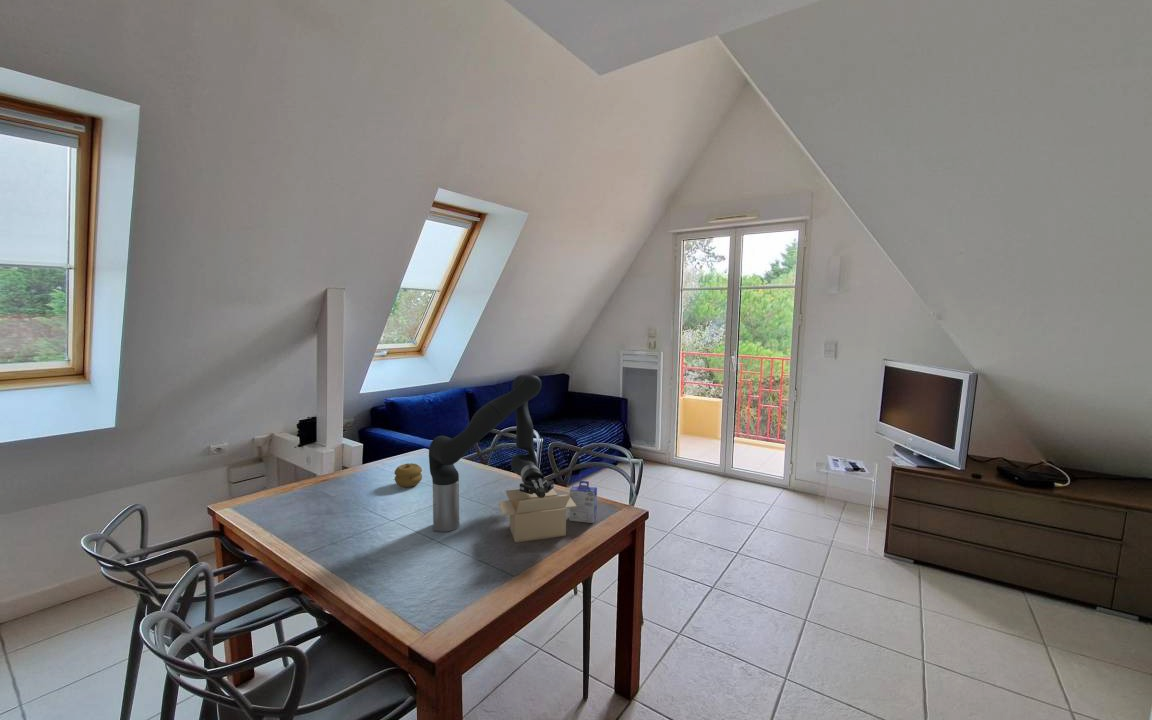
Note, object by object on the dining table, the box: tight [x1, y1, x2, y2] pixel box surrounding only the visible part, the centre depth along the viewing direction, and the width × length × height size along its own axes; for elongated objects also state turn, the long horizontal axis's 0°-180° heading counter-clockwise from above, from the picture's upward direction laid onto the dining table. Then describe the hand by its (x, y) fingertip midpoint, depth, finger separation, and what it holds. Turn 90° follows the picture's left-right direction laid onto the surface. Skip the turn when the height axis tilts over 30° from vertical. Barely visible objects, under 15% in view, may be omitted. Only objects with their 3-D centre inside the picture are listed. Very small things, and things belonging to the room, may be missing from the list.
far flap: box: [516, 494, 570, 513], centre depth 159 cm, size 17×9×1 cm
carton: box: [498, 488, 577, 544], centre depth 173 cm, size 26×21×10 cm
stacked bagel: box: [394, 462, 423, 488], centre depth 211 cm, size 12×12×10 cm
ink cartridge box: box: [568, 480, 598, 524], centre depth 179 cm, size 10×6×14 cm, turn 78°
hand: (542, 495), depth 159 cm, fingers closed
